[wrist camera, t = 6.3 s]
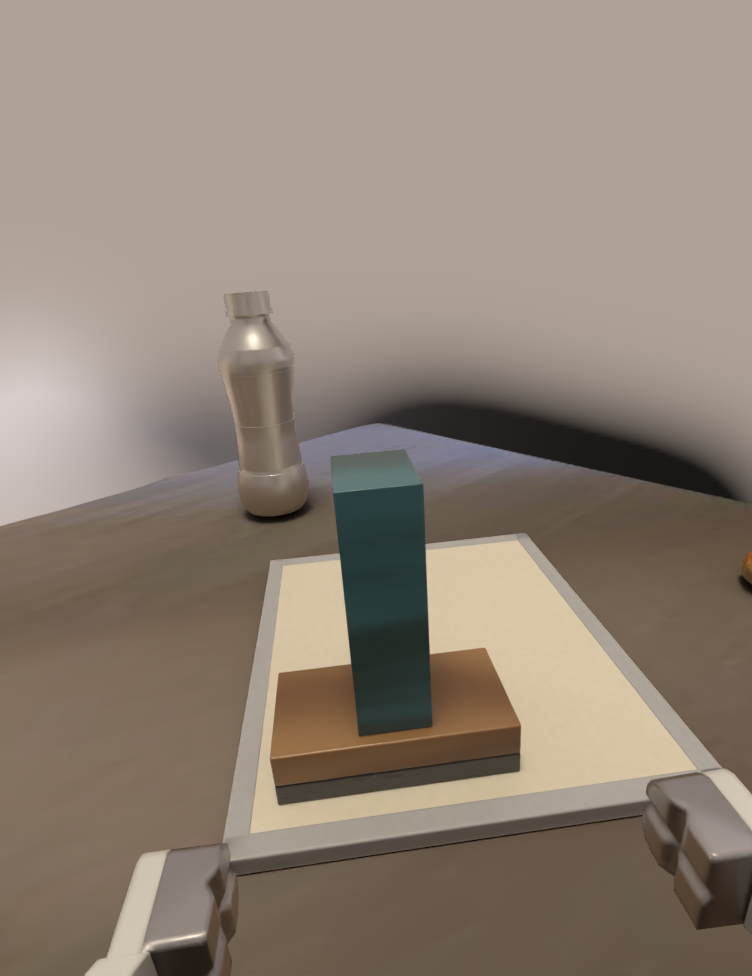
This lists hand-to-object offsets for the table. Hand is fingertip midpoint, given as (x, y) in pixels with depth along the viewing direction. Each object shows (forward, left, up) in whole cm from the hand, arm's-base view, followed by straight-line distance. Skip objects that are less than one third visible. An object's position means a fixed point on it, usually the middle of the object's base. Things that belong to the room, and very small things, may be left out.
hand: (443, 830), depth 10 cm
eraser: (-6, +10, -9) cm, 15 cm away
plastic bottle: (-27, +32, -10) cm, 44 cm away
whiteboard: (-7, +17, -10) cm, 21 cm away
